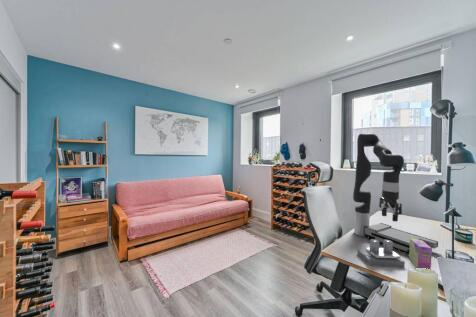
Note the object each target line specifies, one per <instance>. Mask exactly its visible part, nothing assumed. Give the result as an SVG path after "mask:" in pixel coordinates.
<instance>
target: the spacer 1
mask: <svg viewBox="0 0 476 317" xmlns="http://www.w3.org/2000/svg"><path fill="white" fill-rule="evenodd" d="M369 248H370V251H371V252H373V253H379V248H380V244H379V241H377V240H374V239H371V240H369Z"/></svg>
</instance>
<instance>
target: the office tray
mask: <svg viewBox="0 0 476 317" xmlns="http://www.w3.org/2000/svg"><path fill="white" fill-rule="evenodd" d="M365 234H366V237H365V238H368V240H369V241H370V240H371V239H374V240H377V241H379V245H383V240H390V241H392V242H393V250H395V249H396V251H399V252H401V253H403V254H406V255H409V250H410V238H411V239H418V240H423V241H424V242H425V243H426V244H427V245H428V246H430V247H431V248H432V249H437V248H439V241H437V240H434V239H430V238H427V237H424V236H420V235H418V234H414V233H411V232H407V231H404V230H401V229H397V228H393V227H392V225H389V224H386V223H382V222H379V223H377V224H372V225H369V226H368V227H365Z"/></svg>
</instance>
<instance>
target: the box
mask: <svg viewBox="0 0 476 317" xmlns="http://www.w3.org/2000/svg"><path fill="white" fill-rule="evenodd" d="M432 253H433V248H431V247H430V246H428V245H427V244H426V243H425V242H424V241H423V240H418V239H411V238H410V250H409V254H408V259H410V261H411V262H412V263H413V265H414V266H415V267H416V268H418V269H422V268H428V269H432V255H433V254H432ZM428 269H427V270H428Z"/></svg>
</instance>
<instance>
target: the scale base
mask: <svg viewBox="0 0 476 317" xmlns="http://www.w3.org/2000/svg"><path fill="white" fill-rule="evenodd" d="M357 255H358V256H359V257H360V258H361V259H362V260H363V261H364V262H365V263H366V264H367V265H368V266H370V267H373V266H374V267H393V268H405V262H406V261H405V260H403V259H398V258H376V257H374V256H373V255H372V254H371V253H370V252H368V251H367V250H366V249H359V248H357Z"/></svg>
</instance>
